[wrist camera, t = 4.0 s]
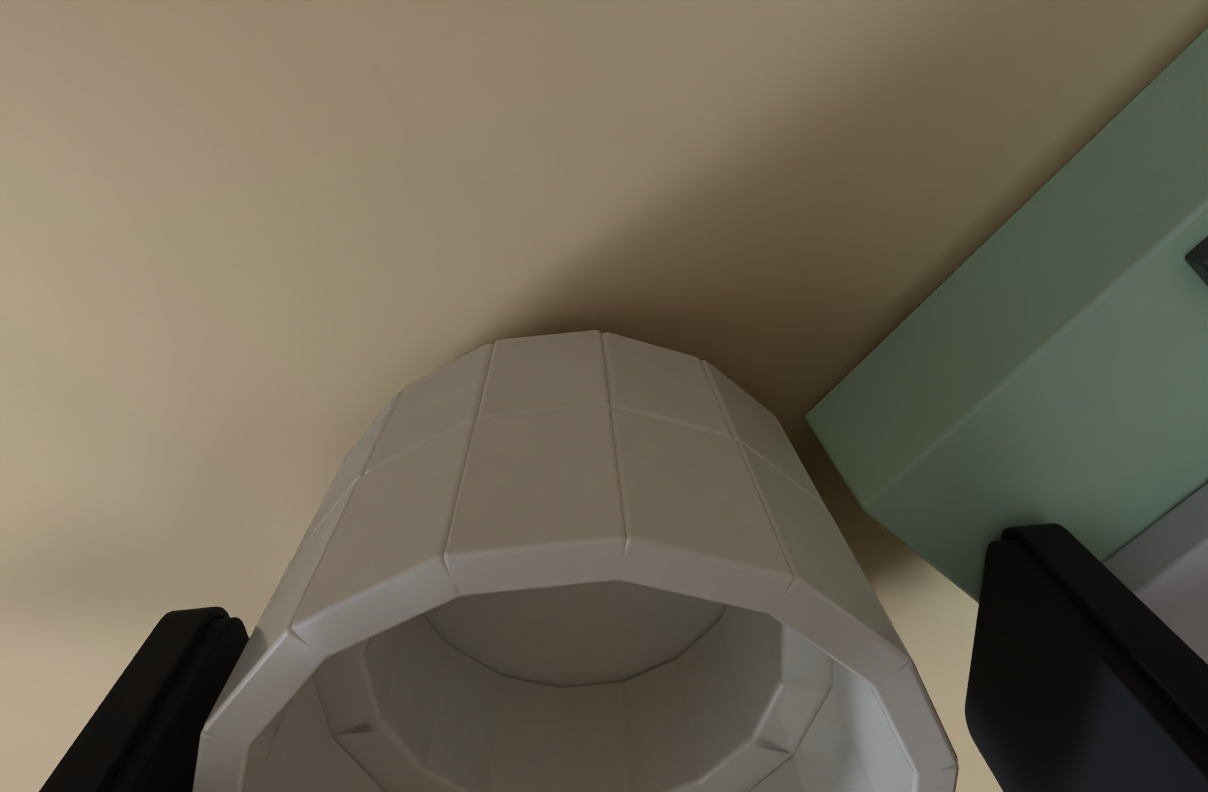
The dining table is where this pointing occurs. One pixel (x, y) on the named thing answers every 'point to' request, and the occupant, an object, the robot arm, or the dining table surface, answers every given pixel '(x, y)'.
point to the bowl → (574, 601)
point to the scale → (1060, 372)
